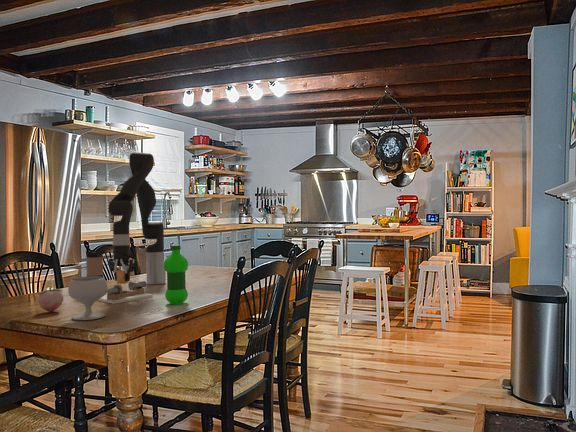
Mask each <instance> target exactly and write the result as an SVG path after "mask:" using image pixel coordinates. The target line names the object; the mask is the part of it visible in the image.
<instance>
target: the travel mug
mask: <svg viewBox="0 0 576 432" xmlns="http://www.w3.org/2000/svg"><path fill="white" fill-rule="evenodd" d="M85 254H86V256H85V257H86V260H85V261H86V277H88V276H101V277H104V262H103V261H104V258H103V251H102V250H101V251H98V250H95V251H94V250H93V251H86V252H85Z"/></svg>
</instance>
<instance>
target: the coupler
mask: <svg viewBox="0 0 576 432" xmlns="http://www.w3.org/2000/svg"><path fill="white" fill-rule="evenodd" d="M116 272H117V281H116V285H122V284H123V285H125V284H129V281H128V282H125V271H124V269H123V268H122V269H120V270H116Z"/></svg>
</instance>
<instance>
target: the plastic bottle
mask: <svg viewBox="0 0 576 432" xmlns="http://www.w3.org/2000/svg"><path fill="white" fill-rule="evenodd" d="M181 246H182V245H181V244H173V245H172V244H171V245H170V250H171V254H170V255H168V256H167V257H166V258H164V269H165V272H166V285H167V287H166V290H165V294H164V297H165V299H166V301H167V302H168V303H169V304H170V305H182V304H184V302H186V300H188V297H189V292H188V290H187V288H186V284H187V283H186V271H187V270H188V268H189V262H188V259H187V258H186V257H184V255H182V254H181V253H180V251H181Z"/></svg>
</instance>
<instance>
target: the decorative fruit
mask: <svg viewBox="0 0 576 432" xmlns="http://www.w3.org/2000/svg"><path fill="white" fill-rule="evenodd" d="M63 292H64V290H61V289H59V288H53V289H52V287H49V289H47V290H42V291H40V292H39V293H38V304H39V306H40V308H42V310H44V311H47V312H49V313H52V312H54V311H56V310H57V309H58V308H60V306H61V305H62V304H63V302H64V296H63V294H62V293H63Z"/></svg>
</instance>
